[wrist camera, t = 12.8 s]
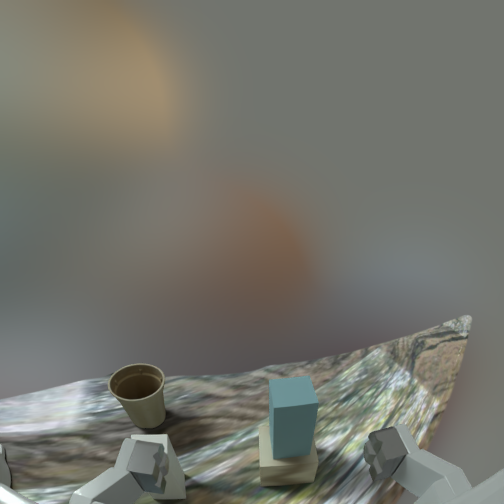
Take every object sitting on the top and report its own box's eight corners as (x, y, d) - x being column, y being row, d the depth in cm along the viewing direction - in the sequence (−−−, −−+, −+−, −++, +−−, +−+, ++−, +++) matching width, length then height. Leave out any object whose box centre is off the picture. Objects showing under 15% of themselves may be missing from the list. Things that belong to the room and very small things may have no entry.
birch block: (260, 486, 28) (259, 466, 27) (259, 449, 35) (258, 426, 33) (313, 482, 28) (318, 461, 27) (307, 446, 35) (310, 422, 33)
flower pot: (184, 406, 44) (174, 369, 42) (161, 443, 36) (146, 407, 33) (139, 394, 46) (127, 358, 44) (114, 426, 38) (97, 390, 35)
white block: (153, 499, 25) (127, 462, 22) (153, 474, 29) (131, 434, 27) (186, 498, 26) (167, 463, 23) (184, 473, 30) (167, 434, 27)
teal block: (273, 459, 28) (273, 407, 25) (269, 433, 32) (269, 379, 29) (309, 454, 28) (318, 402, 25) (303, 429, 32) (309, 375, 30)
